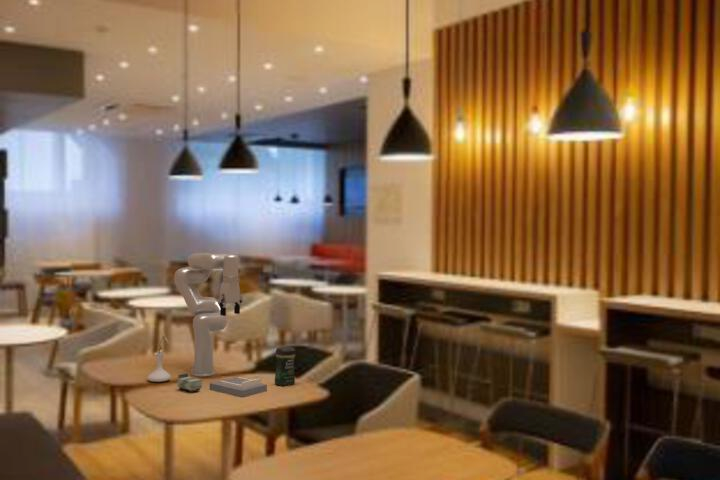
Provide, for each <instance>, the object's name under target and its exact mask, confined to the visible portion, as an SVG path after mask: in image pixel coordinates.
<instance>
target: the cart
mask: <svg viewBox="0 0 720 480" xmlns="http://www.w3.org/2000/svg"><path fill="white" fill-rule="evenodd" d="M202 380H203V379H200V378H197V377H191V376H189V373H188V372H187V373H186V372H185V373H183V374H178V375H177V385H176V386H177V388H178V390H179V391H183V390H188V392H189V393H193V392H194V391H196V392H199V391H200V389H202V384H203V383H202Z"/></svg>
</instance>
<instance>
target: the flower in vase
mask: <svg viewBox="0 0 720 480" xmlns="http://www.w3.org/2000/svg"><path fill="white" fill-rule="evenodd" d="M160 332H161V335H162V338H161V340H160V342H159V346H158V349H157V351H158V352H154V355H155V357H156V364H157V365H156V367H155V369H154V370H153V371H152V372H151V373H149V374H148V375H147V380H148V381H150V382H153V383H154V382H156V383H160V382H161V383H162V382H166V381H168V380H169V381H170V380H171V378H172V376H171V374H170V373H169V372H168V371H166V370H164V368H163V364H162V363H163V357H164V355H165V354H166V353H165V352H161V351H160V350H162V349H163V347H162V345H161V343H162V341H163V340H165V341H166V343H167V344H170V341H169V339H168V338H167V335H166V334H165V333H164V330H162V329H161V330H160Z"/></svg>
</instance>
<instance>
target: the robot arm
mask: <svg viewBox="0 0 720 480" xmlns="http://www.w3.org/2000/svg"><path fill="white" fill-rule="evenodd" d="M239 260H240V259H239V256H238V255H236V254H230V253H211V252H195V253H192V254H190V255H189V256H188V258H187V264H188V266H189V267H181V268H179V269H177V270H175V272H174V284H175V286H176V289H177V291H178V292H179V293H180V295H181V296H182V298H183V299H184V303H186V307H187V309H188V311H189V312H190V315H192V316H194V318H193V320H192V326H193V332H194V356H193V358H194V361H193V362H194V363H193V364H192V365H190V366H189V367H190V369H192V370H191V372H190V375H191V376H193V377H212V376H215V375H216V373H217V372H216V370H214V338H213V336H212V335H211V333H210V332H217V331H222V330H224V329H226V327H227V325H228V324H227V323H228V322H227V315H226V314H227V308H226V306H227V305H228V304H234V305H233V306H234V308H233V310H234V311H233V313H234V314H235V315H240V314H241V310H240V309H241V306H242V303H243V299H244V296H243V295H242V294H241V289H240V282H239V278H240V277H239ZM213 270H222V282H221V284H220V289H219V296H218V298H216V297H213V296H205V297H203V296H202V295H201V294H200V293H201V292H199V290H198V289H197V288H196V286H195V285H192V284H200V283H205V282H206V281H208V279H209V277H210V275H211V274H212V272H213Z"/></svg>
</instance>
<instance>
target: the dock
mask: <svg viewBox="0 0 720 480" xmlns="http://www.w3.org/2000/svg"><path fill="white" fill-rule="evenodd" d="M209 390H211V391H214V392H219V393H223V394H227V395H232V396H236V397H241V398H245V397H249V396H252V395H253V396H254V395H257V394H261V393H264V392H267V391H268V384H265V383H262V378H255V379H249V378H246V377H241V376H236V377H232V378H228V379H227V378H226V379H222V380H217V381H213V382H210V383H209Z"/></svg>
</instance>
